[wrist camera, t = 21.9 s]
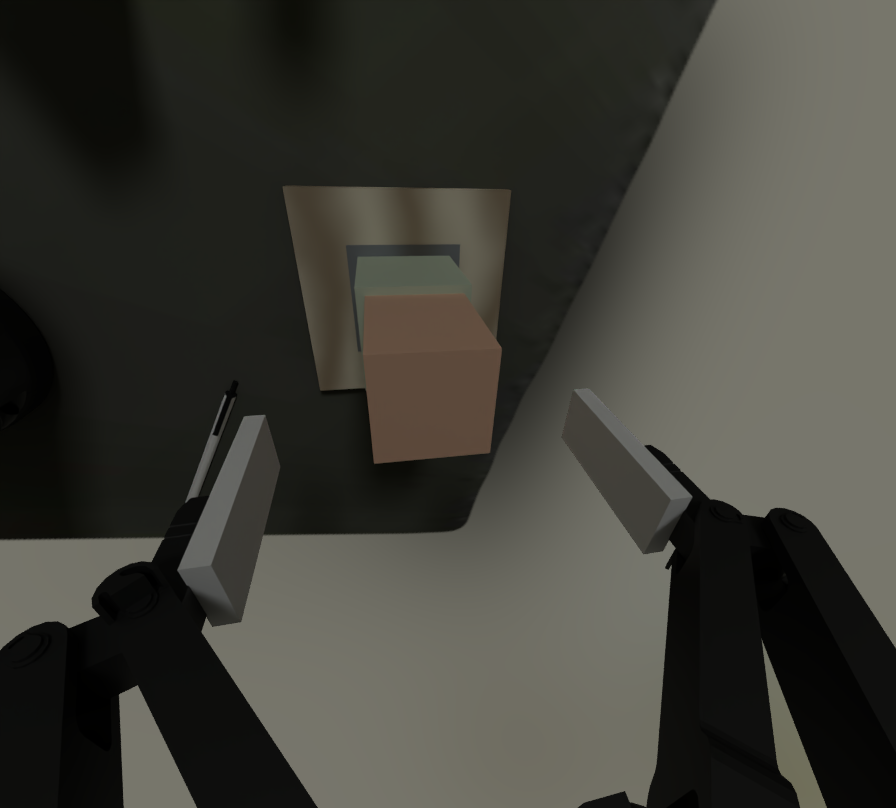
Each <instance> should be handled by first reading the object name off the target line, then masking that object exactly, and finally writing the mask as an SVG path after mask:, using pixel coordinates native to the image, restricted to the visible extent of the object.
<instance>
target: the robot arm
mask: <svg viewBox="0 0 896 808" xmlns="http://www.w3.org/2000/svg"><path fill="white" fill-rule="evenodd" d="M52 378H53V367H52V361H51V357H50V354H49V351H48V348H47V346H46V344H45V342H44V340H43V338H42V336H41V334H40V333H39V331H38V330H37V328H36V327H35V325H34V324H33V323H32V321H31V320H30V319H29V318H28V316H27V315H26V314H25V313H24V312H23V311H22V310H21V309H20V308H19V306H18V305H17V304H15V303H14V302H13V301H12V300H11V299H10V298H9V297H8V296H7V295H6V294H5V293H3V292H2V291H1V290H0V431H1V430H3V429H5V428H7V427H9V426H11V425H13V424H15V423H16V422H18V421H19V420H20V419H22V418H23V417H24V416H25V415H27V414H28V413H29V412H31V411H32V410H33V409H35V408H36V407H37V406H38V405H39V404H40V403H41V402H42V401H43V400H44V399H45V397H46V396H47V394H48V392H49V390H50V387H51V384H52ZM562 438H563V440H564V441H565V443H566V444H567V446H568V447H569V448H570V450H571V451H572V453H573V454H574V455H575V457H576V458H577V460H578V461H579V463H580V464H581V466H582V467H583V468H584V470H585V471H586V473H587V474H588V476H589V477H590V478H591V480H592V481H593V483H594V484H595V486H596V487H597V489H598V490H599V491H600V493H601V494H602V496H603V497H604V499H605V500H606V501H607V503H608V504H609V506H610V507H611V508H612V510H613V511H614V513H615V514H616V516H617V517H618V518H619V520H620V521H621V523H622V524H623V526H624V527H625V528H626V530H627V531H628V533H629V534H630V536H631V537H632V539H633V540H634V541H635V543H636V544H637V546H638V547H639V548H640V550H641V551H642V553H643V554H648V553H654V552H660V551H663V550H664V548H665V546H666V544H667V543H668V541H669V540H670V541H671V543H672V544H673V545H674V546H675V548H676V549H675V550H674V552H673V554H672V556H671V557H670V559H669V561H668V563H667V565H666V567H665V568H666V569H669V568H670V566H671V565H672V569H671V582H670V595H669V609H668V622H667V636H666V649H665V662H664V675H663V689H662V702H661V715H660V728H659V742H658V756H657V765H656V770H655V774H654V776H653V779H652V782H651V785H650V789H649V793H648V799H647V807H644V806H641V805H638V804H635V803H630V802H629V800H628V797H627V795H626V793H625V791H624V792H620V793H617V794H614V795H610V796H606V797H603V798H599V799H596V800H592V801H589V802H585V803H583V804H582V805H581V806H579V807H578V808H800V806H799V802H798V798H797V793H796V792H795V790H794V788H793V786H792V784H791V783H790V782H789V781H788V780H787V779H786V778H784V777H783V776H782V775H781V773H780V771H779V769H778V765H777V760H776V752H775V744H774V735H773V728H772V719H771V711H770V703H769V695H768V688H767V679H766V671H765V664H764V655H763V647H762V641H763V643H764V646H765V649H766V651H767V654H768V656H769V659H770V662H771V664H772V666H773V669H774V672H775V674H776V677H777V680H778V682H779V685H780V687H781V690H782V693H783V695H784V698H785V700H786V703H787V705H788V708H789V711H790V713H791V716H792V718H793V721H794V724H795V726H796V729H797V731H798V734H799V736H800V739H801V742H802V744H803V747H804V749H805V752H806V754H807V757H808V760H809V762H810V765H811V767H812V770H813V773H814V775H815V778H816V780H817V783H818V785H819V788H820V791H821V793H822V796H823V798H824V801H825V804H826V806H827V808H896V648H895V647H894V645H893V644H892V642H891V640H890V639H889V637H888V636H887V634H886V633H885V631H884V630H883V628H882V627H881V625H880V624H879V622H878V620H877V619H876V617H875V616H874V614H873V613H872V611H871V610H870V608H869V607H868V605H867V604H866V602H865V601H864V599H863V598H862V596H861V594H860V593H859V591H858V590H857V588H856V587H855V585H854V584H853V582H852V581H851V579H850V578H849V576H848V574H847V573H846V572H845V570H844V568H843V567H842V565H841V564H840V562H839V561H838V559H837V558H836V556H835V554H834V553H833V552H832V550H831V548H830V547H829V545H828V544H827V542H826V541H825V539H824V538H823V536H822V535H821V533H820V532H819V530H818V529H817V527H816V526H815V525H814V524H813V523H812V522H811V521H810V520H808V519H807V518H805V517H804V516H802V515H801V514H798V513H796V512H794V511H791V510H788V509H785V508H774V509H771V510H770V512H769V513H768V514H767V516H766V517H765V518H763V517H756V516H748V515H742V514H741V512H740V511H739V510H737V509H736V508H734V507H733V506H731V505H729V504H727V503H725V502H723V501H718V500H710V499H709V498H708V497H707V496H706V495H705V494H704V493H703V492H702V491H701V490H700V489H699V488H698V487H697V486H696V485H695V484H694V483H693V482H692V481H691V480H690V479H689V478H688V477H687V476H686V475H685V474H684V473H683V472H681V471H680V469H679V468H678V467H677V466H676V465H675V464H673V462H672V461H671V460H670V459H669V458H668V457H667V456H666V455H665V454H664V453H663V452H661V451H660V450H658V449H656V448H654V447H653V446H651V445H645V446H643V445H642V443H641V442H640V441H639V440H638V439H637V438H636V437H635V436H634V435H633V434H632V433H631V432H630V431H629V430H628V429H627V428H626V427H625V426H624V425H623V423H622V422H621V421H620V420H619V419H618V418H617V417H616V416H615V415H614V414H613V413H612V412H611V411H610V410H609V409H608V408H607V407H606V406H605V405H604V404H603V403H602V401H601V400H600V399H599V398H598V397H597V396H596V395H595V394H594V393H593V392H592V391H591V390H590V389H589V388H587V389H575V390H573V393H572V397H571V401H570V405H569V410H568V413H567V418H566V422H565V426H564V430H563V434H562ZM279 470H280V464H279V461H278V457H277V454H276V450H275V447H274V443H273V440H272V437H271V433H270V430H269V426H268V423H267V420H266V416H265V415H257V416H245V417H244V418H243V420H242V423H241V425H240V427H239V430H238V432H237V434H236V437H235V439H234V441H233V443H232V446H231V448H230V450H229V453H228V455H227V457H226V459H225V462H224V464H223V466H222V469H221V471H220V473H219V476H218V478H217V480H216V482H215V485H214V487H213V489H212V492H211V494H210V496H203V497H194V498H190V499H189V500H188V501H187V502H186V503H185V504H184V505H183V506H182V507H181V508H180V509H179V510H178V511H177V513H176V515H175V517H174V519H173V521H172V523H171V525H170V528H169V529H168V531H167V533H166V535H165V536H164V537H165V539H164V540H162V542H161V545H160V547H159V548H158V550H157V552H156V554H155V556H154V558H153V560H152V562H142V561H141V562H137V563H132V564H129V565H127V566H125V567H122V568H120V569H118V570H117V571H115V572H114V573H113V574H111V575H110V576H108V577H107V578H106V579H105V580H104V581H103V582H102V583H101V584H100V585H99V586H98V587H97V589H96V591H95V593H94V595H93V597H92V608H93V609H94V610H95V611H96V612H97V613H98V614H99V615H100V616H99V617H96V618H94V619H91V620H89V621H86V622H84V623H81V624H79V625H76V626H74V627H72V628H68V627H67V626H65V625H64V624H62V623H60V622H58V621H57V622H45V623H42V624H39V625H36V626H33V627H31V628H29V629H28V630H26V631H24V632H22V633H21V634H19V635H18V636H16V637H15V638H14V639H13V640H11V641H10V642H9V643H7V644H6V645H5V646H4V647H3V648H2V649H1V650H0V808H124V806H123V782H122V761H121V734H120V710H119V694H120V693H122V692H125V691H127V690H129V689H131V688H133V687H135V686H137V685H138V686H139V688H140V691H141V692H142V695H143V697H144V699H145V701H146V703H147V705H148V707H149V709H150V711H151V713H152V715H153V717H154V719H155V721H156V724H157V726H158V727H159V730H160V732H161V734H162V736H163V738H164V740H165V742H166V744H167V746H168V748H169V750H170V752H171V754H172V757H173V758H174V760H175V763H176V765H177V767H178V769H179V771H180V773H181V775H182V777H183V779H184V781H185V783H186V786H187V787H188V790H189V792H190V794H191V796H192V798H193V800H194V802H195V804H196V806H197V808H318V807H317V806H316V805H315V803H314V801H313V800H312V798H311V797H310V795H309V794H308V792H307V791H306V789H305V788H304V786H303V785H302V784H301V782H300V780H299V779H298V777H297V776H296V774H295V773H294V771H293V770H292V768H291V767H290V765H289V764H288V762H287V761H286V759H285V758H284V756H283V755H282V753H281V752H280V750H279V749H278V747H277V746H276V744H275V743H274V741H273V740H272V738H271V737H270V735H269V734H268V732H267V731H266V729H265V727H264V726H263V724H262V723H261V722H260V720H259V719H258V717H257V716H256V714H255V712H254V711H253V709H252V708H251V707H250V705H249V704H248V702H247V701H246V699H245V697H244V696H243V694H242V693H241V691H240V690H239V688H238V687H237V685H236V684H235V682H234V681H233V679H232V678H231V676H230V675H229V673H228V672H227V670H226V669H225V667H224V666H223V664H222V663H221V661H220V660H219V658H218V657H217V655H216V654H215V652H214V651H213V649H212V648H211V646H210V645H209V643H208V642H207V640H206V638H205V637H204V635H203V634H202V632H201V631H202V628H203V625H204V622H205V619H206V617H207V619H208V620H209V622H210V624H211V625H212V627H213V626H220V625H226V624H232V623H238V622H241V620H242V616H243V612H244V608H245V604H246V600H247V596H248V593H249V589H250V585H251V581H252V576H253V573H254V569H255V565H256V561H257V557H258V553H259V549H260V545H261V541H262V537H263V533H264V529H265V525H266V521H267V517H268V514H269V510H270V506H271V502H272V498H273V494H274V490H275V486H276V482H277V478H278V474H279ZM761 638H762V639H761Z"/></svg>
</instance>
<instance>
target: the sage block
mask: <svg viewBox="0 0 896 808" xmlns="http://www.w3.org/2000/svg"><path fill="white" fill-rule="evenodd" d="M354 290H355V299H356V308H357V317H358V326H359V335H360V344H361V354H362V363H363V372H364V381H365V390H366V380H365V371H364V361H363V335H364V301H365V296H376V295H417V294H458V293H464V294H465V295H466V296H467V298H468V299H469V301H470V302H471V295H472V284H471V283H470V281H469V280H468V279H467V278H466V276H465V275H464V274H463V272H462V271H461V270H460V269H459V267H458V266H457V265H456V264H455V262H454V261H453V260H452V258H451V257H450V256H373V257H358V258H357V267H356V276H355V285H354ZM366 391H367V390H366Z"/></svg>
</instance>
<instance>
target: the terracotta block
mask: <svg viewBox="0 0 896 808" xmlns="http://www.w3.org/2000/svg"><path fill="white" fill-rule="evenodd" d="M501 352H502V348H501V346H500V345H499V343H498V342H497V340H496V339H495V338H494V336H493V335H492V333H491V332H490V330H489V329H488V327H487V326H486V324H485V323H484V321H483V320H482V318H481V317H480V316H479V314H478V313H477V311H476V310H475V308H474V307H473V305H472V304H471V302H470V301H469V299H468V298H467V296H466V295H465V294H464V293H458V294H417V295H376V296H365V301H364V335H363V361H364V371H365V380H366V390H367V399H368V409H369V419H370V428H371V438H372V448H373V457H374V464H377V463H387V462H398V461H409V460H419V459H430V458H441V457H451V456H462V455H473V454H483V453H490V447H491V439H492V430H493V421H494V413H495V404H496V396H497V387H498V378H499V370H500V361H501Z"/></svg>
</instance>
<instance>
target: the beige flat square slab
mask: <svg viewBox="0 0 896 808" xmlns="http://www.w3.org/2000/svg"><path fill="white" fill-rule="evenodd" d="M283 192H284V197H285V203H286V208H287V213H288V219H289V224H290V230H291V235H292V240H293V246H294V251H295V256H296V262H297V267H298V273H299V278H300V283H301V289H302V294H303V300H304V305H305V310H306V316H307V321H308V327H309V332H310V337H311V343H312V348H313V353H314V359H315V364H316V370H317V375H318V380H319V386H320V391H324V390H339V389H355V388H365V381H364V372H363V363H362V354H361V344H360V335H359V326H358V317H357V308H356V299H355V290H354V285H355V276H356V267H357V258H358V257H373V256H450V257H451V258H452V260H453V261H454V262H455V264H456V265H457V266H458V267H459V269H460V270H461V271H462V272H463V274H464V275H465V276H466V278H467V279H468V280H469V281H470V283H471V284H472V295H471V304H472V305H473V307H474V308H475V310H476V311H477V313H478V314H479V316H480V317H481V318H482V320H483V321H484V323H485V324H486V326H487V327H488V329H489V330H490V332H491V333H492V335H493V336H494V338H495V339H496V334H497V325H498V315H499V305H500V295H501V285H502V275H503V266H504V256H505V246H506V236H507V226H508V216H509V207H510V197H511V190H508V189H456V188H395V187H335V186H283Z"/></svg>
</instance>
